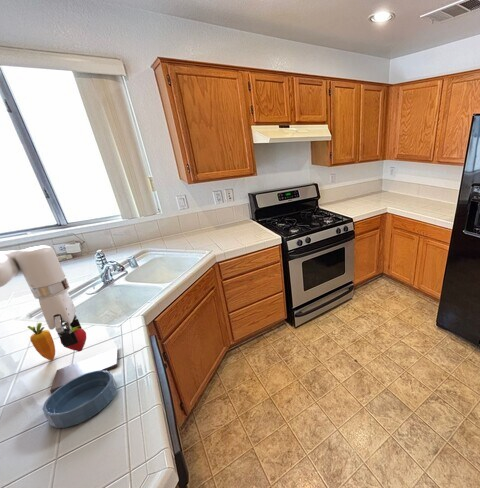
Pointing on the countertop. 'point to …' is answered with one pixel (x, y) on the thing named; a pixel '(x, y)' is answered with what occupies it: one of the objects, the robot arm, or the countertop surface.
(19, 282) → the countertop surface
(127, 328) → the countertop surface
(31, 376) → the countertop surface
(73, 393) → the basin
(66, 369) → the board
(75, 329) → the strawberry
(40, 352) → the carrot
